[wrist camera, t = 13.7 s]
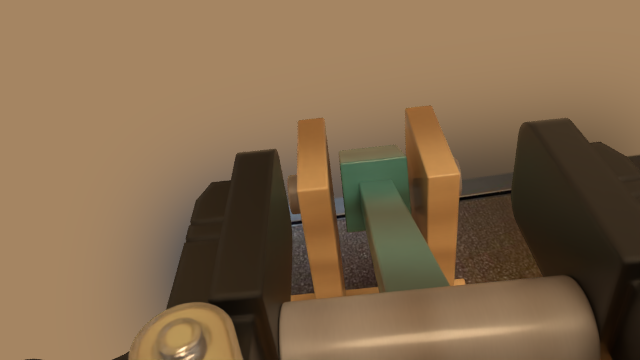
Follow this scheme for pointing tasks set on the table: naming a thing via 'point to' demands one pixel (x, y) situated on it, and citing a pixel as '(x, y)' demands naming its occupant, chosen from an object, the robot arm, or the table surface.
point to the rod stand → (425, 197)
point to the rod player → (429, 293)
